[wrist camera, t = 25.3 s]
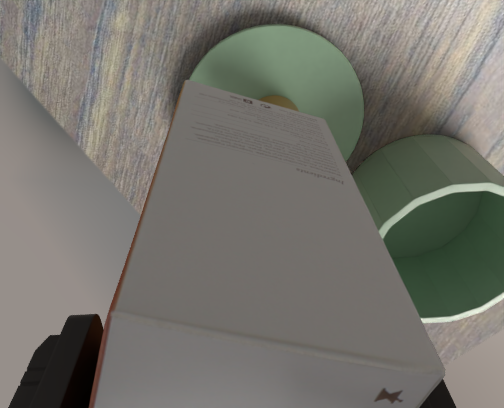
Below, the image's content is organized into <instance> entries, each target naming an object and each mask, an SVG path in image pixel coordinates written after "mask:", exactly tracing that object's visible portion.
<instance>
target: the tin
mask: <svg viewBox="0 0 504 408" xmlns="http://www.w3.org/2000/svg"><path fill="white" fill-rule="evenodd" d="M352 177H353V179H354V181H355V183H356V185H357V187H358V190H359V192H360V194H361V196H362V198H363V200H364V202H365V204H366V206H367V208H368V210H369V212H370V215H371V217H372V219H373V221H374V223H375V225H376V227H377V229H378V231H379V233H380V235H381V237H382V240H383V242H384V244H385V246H386V248H387V250H388V252H389V254H390V256H391V258H392V260H393V262H394V264H395V267H396V269H397V271H398V273H399V275H400V277H401V279H402V281H403V283H404V285H405V287H406V289H407V291H408V293H409V296H410V298H411V300H412V302H413V304H414V306H415V308H416V310H417V312H418V314H419V316H420V319H421V321H422V323H439V322H451V321H452V322H453V321H456V320H459V319H462V318H465V317H468V316H471V315H474V314H477V313H481V312H483V311H485V310H486V309H488V308H490V307H491V306H493V305H494V304H496V303H498V302H499V301H501V300H502V299H504V176H503V175H502V174H501V173H500V172H499V171H498V170H497V169H495V168H494V167H493V166H492V165H491V164H490V163H489V162H488V161H487V160H485V159H484V158H483V157H482V156H481V155H480V154H479V153H478V152H476V151H475V150H474V149H473V148H472V147H471V146H469V145H467V144H464V143H463V142H461V141H459V140H457V139H454V138H451V137H447V136H443V135H434V134H424V135H415V136H411V137H406V138H403V139H400V140H397V141H394V142H392V143H390V144H388V145H386V146H384V147H382V148H381V149H379V150H377V151H376V152H374V153H373V154H372V155H371V156H369V157H368V158H367V159H366V160H365V161H364V162H363V163H362V164H361V165H360V166H359V167H358V168H357V169H356V170H355V172H354V173H353V174H352Z"/></svg>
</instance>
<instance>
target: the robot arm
mask: <svg viewBox="0 0 504 408" xmlns="http://www.w3.org/2000/svg"><path fill="white" fill-rule="evenodd" d="M103 331H104V330H103V326H102V323H101V319H100V317H99V315H98V314H89V315H71V316H69V317H68V318H67V320H66V322H65V325H64V327H63V330H62V332H61V334H60V335H50V336H49V337H48V338H47V339H46V340H45V341H44V342H43V343H42V344H41V345H40V346H39V347H38V348H37V349H36V350H35V352H34V354H33V357H32V359H31V361H30V363H29V365H28V367H27V371H26V372H25V374H24V376H23V378H22V380H21V382H20V383H21V384H20V386H18V388H17V391H16V393H15V395H14V397H13V399H12V401H11V403H10V405H9V407H8V408H89V404H90V398H91V393H92V388H93V383H94V378H95V372H96V367H97V362H98V356H99V351H100V346H101V341H102V336H103ZM419 408H456V406H455V404H454V402H453V399H452V397H451V395H450V393H449V391H448V389H447V387H446V385H445V383H444V380H443V379H442V380H441V382H440V383H439V384H438V385H437V386H436V387H435V389H434V390H433V391H432V392H431V393H430V395H429V396H428V397H427V398H426V399H425V401H424V402H423V403H422V404H421V406H420V407H419Z"/></svg>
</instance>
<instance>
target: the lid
mask: <svg viewBox="0 0 504 408" xmlns="http://www.w3.org/2000/svg"><path fill="white" fill-rule="evenodd" d="M189 80H191V81H194V82H197V83H201V84H204V85H207V86H211V87H214V88H218V89H221V90H224V91H228V92H231V93H235V94H238V95H242V96H245V97H249V98H252V99H256V100H259V101H263V102H267V103H270V104H274V105H277V106H281V107H284V108H288V109H291V110H295V111H298V112H302V113H305V114H309V115H312V116H316V117H319V118H322V119H325V120H326V123H327V125H328V127H329V129H330V131H331V133H332V135H333V137H334V139H335V142H336V144H337V146H338V148H339V150H340V152H341V154H342V156H343V158H344V160H345V162H346V161H347V160H348V159H349V157H350V155H351V154H352V152H353V150H354V148H355V146H356V144H357V142H358V139H359V136H360V133H361V130H362V125H363V119H364V100H363V93H362V89H361V85H360V82H359V79H358V77H357V75H356V72H355V70H354V69H353V67H352V65H351V64H350V62H349V61H348V60H347V58H346V57H345V56H344V55H343V53H342V52H341V51H340V50H339V49H338V48H337V47H336V46H334V45H333V44H332V43H331V42H330V41H328V40H327V39H325V38H324V37H322V36H321V35H319V34H317V33H314V32H312V31H310V30H308V29H304V28H301V27H298V26H293V25H287V24H265V25H257V26H254V27H250V28H246V29H243V30H241V31H238V32H236V33H234V34H232V35H230V36H228V37H227V38H225V39H223V40H222V41H220V42H219V43H218V44H216V45H215V46H214V47H213V48H211V49H210V50H209V51H208V52H207V53H206V55H205V56H204V57H203V58H202V59H201V60H200V62H199V63H198V64H197V66H196V67H195V69H194V71H193V73H192V74H191V76H190V78H189Z"/></svg>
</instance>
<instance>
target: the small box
mask: <svg viewBox="0 0 504 408" xmlns="http://www.w3.org/2000/svg"><path fill="white" fill-rule="evenodd" d="M444 376H445V368H444V366H443V364H442V362H441V360H440V358H439V356H438V354H437V352H436V349H435V347H434V345H433V344H432V342H431V340H430V338H429V336H428V334H427V332H426V330H425V327H424V325H423V323H422V321H421V319H420V316H419V314H418V312H417V310H416V308H415V306H414V304H413V302H412V300H411V298H410V296H409V293H408V291H407V289H406V287H405V285H404V283H403V281H402V279H401V277H400V275H399V273H398V271H397V269H396V267H395V264H394V262H393V260H392V258H391V256H390V254H389V252H388V250H387V248H386V246H385V244H384V242H383V240H382V237H381V235H380V233H379V231H378V229H377V227H376V225H375V223H374V221H373V219H372V217H371V215H370V212H369V210H368V208H367V206H366V204H365V202H364V200H363V198H362V196H361V194H360V192H359V190H358V187H357V185H356V183H355V181H354V179H353V177H352V175H351V173H350V171H349V169H348V167H347V164H346V162H345V160H344V158H343V156H342V154H341V152H340V150H339V148H338V146H337V144H336V142H335V139H334V137H333V135H332V133H331V131H330V129H329V127H328V125H327V123H326V120H325V119H322V118H319V117H316V116H312V115H309V114H305V113H302V112H298V111H295V110H291V109H288V108H284V107H281V106H277V105H274V104H270V103H267V102H263V101H259V100H256V99H252V98H249V97H245V96H242V95H238V94H235V93H231V92H228V91H224V90H221V89H218V88H214V87H211V86H207V85H204V84H201V83H197V82H194V81H191V80H185V81H184V83H183V86H182V89H181V92H180V95H179V98H178V101H177V104H176V108H175V111H174V115H173V118H172V122H171V125H170V128H169V131H168V134H167V137H166V140H165V143H164V146H163V149H162V152H161V155H160V158H159V161H158V164H157V167H156V170H155V173H154V176H153V179H152V183H151V186H150V189H149V192H148V195H147V198H146V201H145V204H144V207H143V211H142V214H141V217H140V220H139V223H138V226H137V229H136V232H135V235H134V238H133V241H132V244H131V248H130V250H129V253H128V256H127V259H126V263H125V266H124V268H123V271H122V274H121V277H120V280H119V283H118V286H117V289H116V291H115V294H114V297H113V300H112V303H111V306H110V310H109V313H108V315H107V319H106V322H105V326H104V331H103V336H102V341H101V346H100V351H99V356H98V362H97V367H96V372H95V378H94V383H93V388H92V393H91V398H90V404H89V408H419V407H420V406H421V404H422V403H423V402H424V401H425V399H426V398H427V397H428V396H429V395H430V393H431V392H432V391H433V390H434V389H435V387H436V386H437V385H438V384H439V383H440V382H441V380H442V379H443V378H444Z"/></svg>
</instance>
